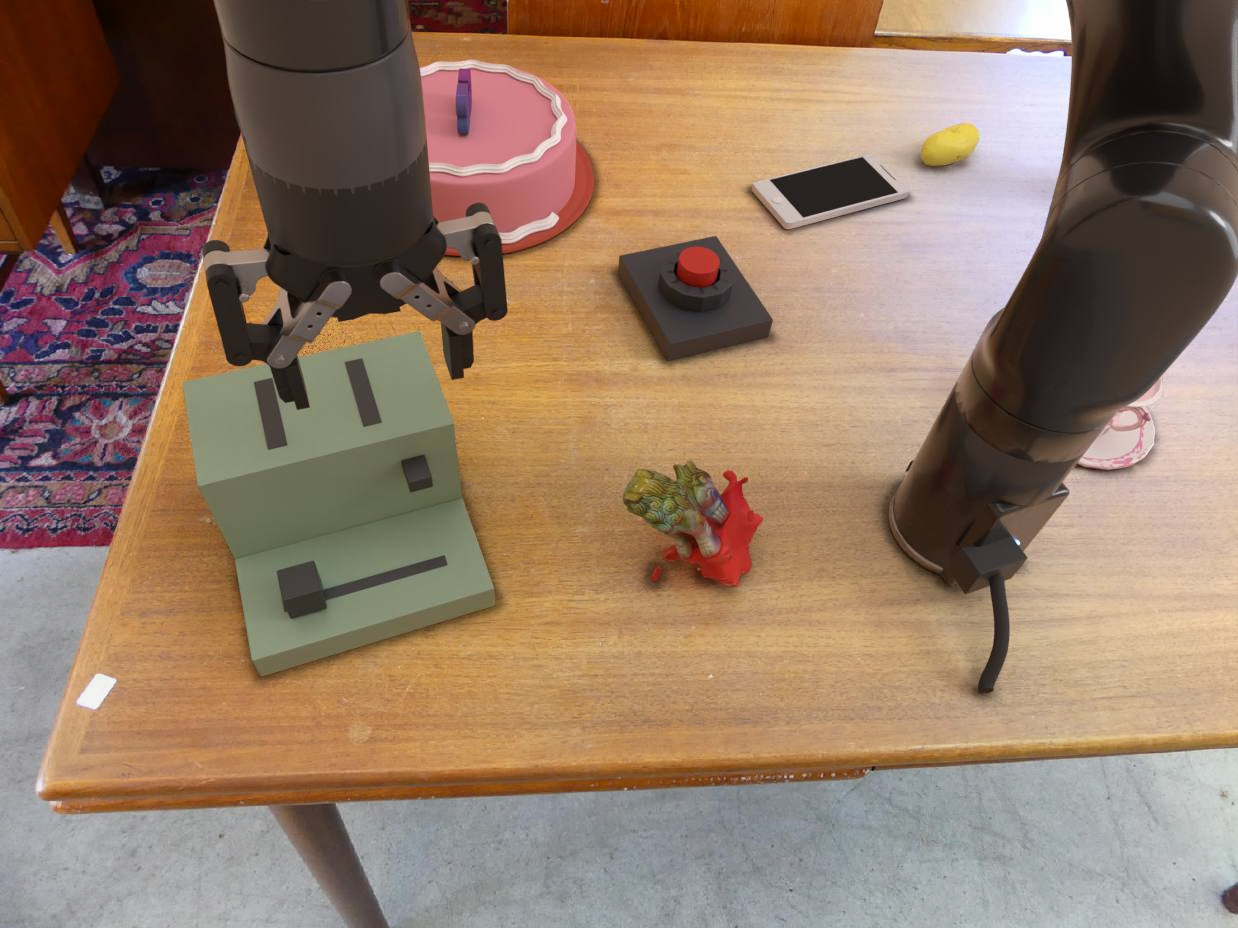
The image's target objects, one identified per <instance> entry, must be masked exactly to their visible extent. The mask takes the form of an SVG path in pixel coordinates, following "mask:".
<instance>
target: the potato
mask: <svg viewBox="0 0 1238 928" xmlns="http://www.w3.org/2000/svg"><path fill="white" fill-rule="evenodd" d="M979 140H980V132H979V130H978V128H977V126H975V125H974V124H972V123H969V122H961V123H957V124H955V125H951V126H948V127H945V128H944V129H942V130H940V131H936V132H935V133H933V134H930V135H929V136H928V137H927V138H926V139H925V140H924V141H923V143H922V146H921V151H920V157H921V160H922V162H923V164H925V165H927V166H930V167H936V166H946V165H951V164H954V163H957V162H961V161H964V160H965V159H967V158H968V157H969V155H971V154H972V153H973V151H974V150H975V149H976V147H977V146H978V144H979Z"/></svg>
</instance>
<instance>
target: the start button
mask: <svg viewBox="0 0 1238 928" xmlns="http://www.w3.org/2000/svg"><path fill="white" fill-rule="evenodd" d="M719 264H720V261H719V258H718V256H717V255H716V254H715V253H714V252H713V251H711V250H709V249H707V248H704V247H690V248H687V249H685V250H684V251H682V252H681V254H680V256H679V261H678V267H677V277H678V279H679V280H680V281H681V282H682V283H684V284H686V285H688V286H690V287H697V288H704V287H708V286H711V285H712V284H714V282H715V281H716V278H717V274H718V269H719Z"/></svg>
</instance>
